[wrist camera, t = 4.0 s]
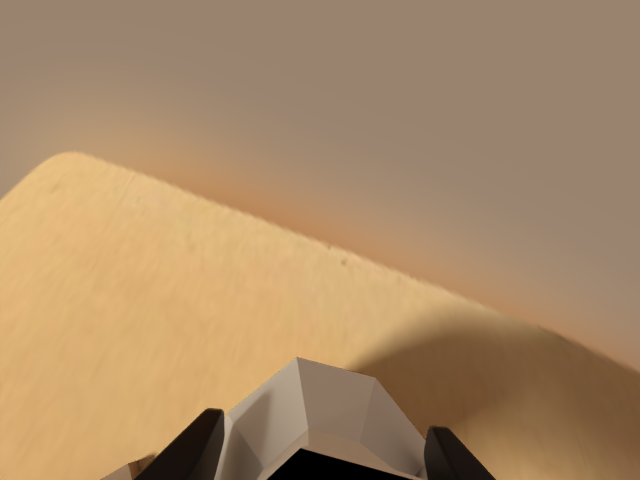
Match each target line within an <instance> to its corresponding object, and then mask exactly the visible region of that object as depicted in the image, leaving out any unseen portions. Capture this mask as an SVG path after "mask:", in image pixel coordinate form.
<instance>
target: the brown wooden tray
mask: <svg viewBox="0 0 640 480" xmlns="http://www.w3.org/2000/svg"><path fill="white" fill-rule="evenodd" d="M139 473H140V470H139V467H138V463H137V461H134V462H131V463H128V464H127V465H125V466H123V467H121V468H120V469H118V470H116V471H114V472H113V473H111V474H109V475H108V476H106V477H104V478H102V479H101V480H133V479H134V478H135V477H136V476H137V475H138V474H139Z"/></svg>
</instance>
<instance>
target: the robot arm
mask: <svg viewBox="0 0 640 480" xmlns="http://www.w3.org/2000/svg"><path fill="white" fill-rule="evenodd" d="M224 436H225V427H224V411H223V410H222V409H214V408H208V409H206V410H204V411H203V412H202V413H201V414H200V415H199V416H198V417H197V418H196V419H195V420H194V421H193V422H192V423H191V424H190V425H189V426H188V427H187V428H186V429H185V430H184V431H183V432H182V433H181V434H179V435H178V436H177V437H176V438H175V439H174V440H173V441H172V442H171V443H170V444H169V445H168V446H167V447H166V448H165V449H164V450H163V451H162V452H161V453H160V454H159V455H158V456H157V457H156V458H155V459H154V460H153V461H151V462H150V463H149V464H148V465H147V466H146V467H145V468H144V469H143V470H142V471H141V472H140V473H139V474H138V475H137V476H136V477H135V478H134V479H133V480H214V478H215V475H216V471H217V467H218V463H219V459H220V455H221V451H222V447H223V443H224ZM424 462H425V468H426V473H427V479H428V480H496V479H495V478H494V477H493V476H492V475H491V474H490V473H489V472H488V471H487V469H486V468H485V467H484V466H483V465H482V464H481V463H480V462H479V461H478V460H477V459H476V457H475V456H474V455H473V454H472V453H471V452H470V451H469V450H468V449H467V448H466V447H465V445H464V444H463V443H462V442H461V441H460V440H459V439H458V438H457V437H456V436H455V435H454V434H453V432H452V431H451V430H450V429H449V428H447V427H445V426H434V425H432V426H430V427H429V430H428V434H427V438H426V443H425V447H424Z"/></svg>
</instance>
